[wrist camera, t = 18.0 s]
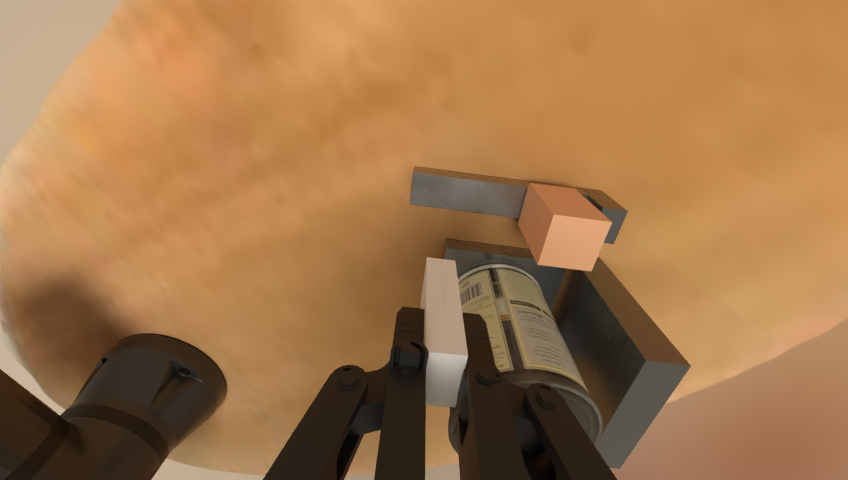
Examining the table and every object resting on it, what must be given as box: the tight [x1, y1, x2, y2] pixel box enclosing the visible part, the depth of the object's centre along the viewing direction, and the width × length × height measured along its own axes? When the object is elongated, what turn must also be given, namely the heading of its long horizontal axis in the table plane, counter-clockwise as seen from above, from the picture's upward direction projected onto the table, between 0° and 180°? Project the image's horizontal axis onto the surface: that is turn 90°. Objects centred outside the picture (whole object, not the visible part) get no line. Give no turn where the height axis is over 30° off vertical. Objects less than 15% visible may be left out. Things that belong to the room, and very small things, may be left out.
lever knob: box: [518, 183, 612, 271], centre depth 26 cm, size 4×4×7 cm
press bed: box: [443, 239, 691, 469], centre depth 31 cm, size 16×12×14 cm
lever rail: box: [410, 166, 628, 244], centre depth 29 cm, size 18×3×5 cm, turn 83°
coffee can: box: [448, 264, 603, 454], centre depth 29 cm, size 10×10×14 cm
